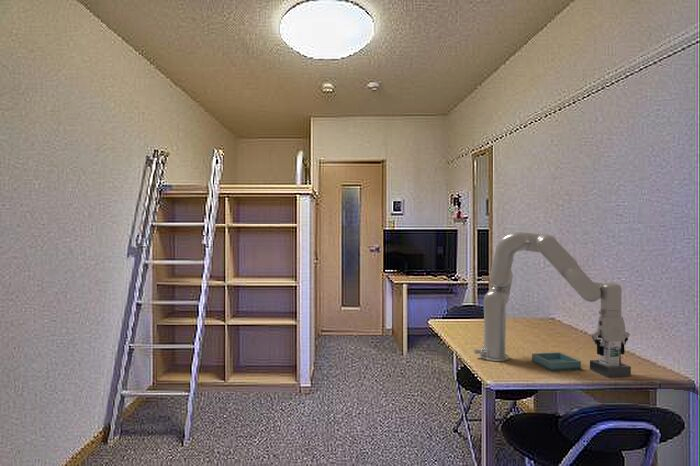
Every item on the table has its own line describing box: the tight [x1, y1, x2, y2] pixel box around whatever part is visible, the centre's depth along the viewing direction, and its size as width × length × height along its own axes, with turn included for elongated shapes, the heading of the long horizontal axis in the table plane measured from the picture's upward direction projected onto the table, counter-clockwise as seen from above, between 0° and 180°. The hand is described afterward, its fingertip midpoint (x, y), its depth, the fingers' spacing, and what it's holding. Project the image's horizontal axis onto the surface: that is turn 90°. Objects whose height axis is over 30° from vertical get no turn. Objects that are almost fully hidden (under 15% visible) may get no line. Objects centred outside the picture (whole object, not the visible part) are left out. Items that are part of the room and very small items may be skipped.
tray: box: [531, 351, 582, 372], centre depth 198 cm, size 14×14×4 cm
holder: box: [589, 359, 632, 379], centre depth 189 cm, size 10×10×4 cm
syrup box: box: [598, 341, 622, 367], centre depth 188 cm, size 6×6×14 cm
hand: (610, 354), depth 188 cm, fingers open, 9 cm apart
